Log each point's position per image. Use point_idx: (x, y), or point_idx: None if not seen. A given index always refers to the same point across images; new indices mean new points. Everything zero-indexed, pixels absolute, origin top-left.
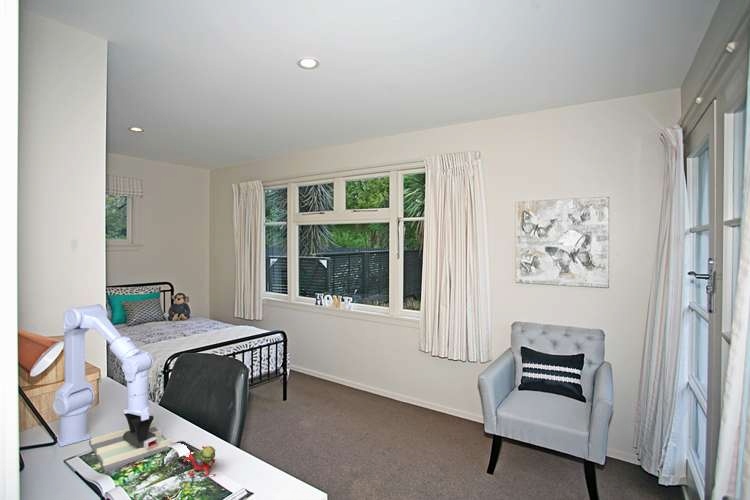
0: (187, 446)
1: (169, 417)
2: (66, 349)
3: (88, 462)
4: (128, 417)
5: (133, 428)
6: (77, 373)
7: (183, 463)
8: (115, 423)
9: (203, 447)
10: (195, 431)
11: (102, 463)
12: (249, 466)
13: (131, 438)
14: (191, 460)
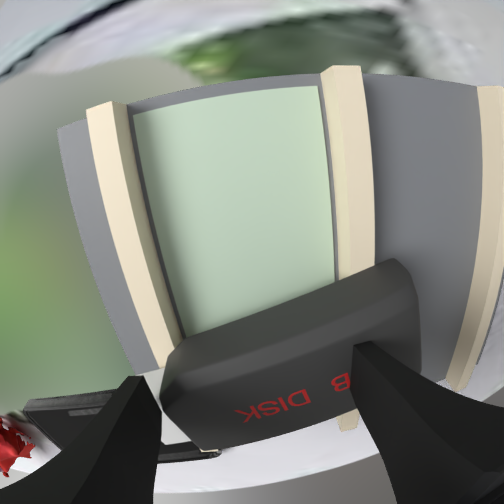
0: (159, 456)
1: None
2: None
3: (273, 29)
4: (441, 453)
5: (366, 383)
6: None
7: (35, 413)
8: None
9: (3, 473)
10: (294, 473)
11: (148, 102)
12: (28, 466)
13: (283, 333)
14: None
